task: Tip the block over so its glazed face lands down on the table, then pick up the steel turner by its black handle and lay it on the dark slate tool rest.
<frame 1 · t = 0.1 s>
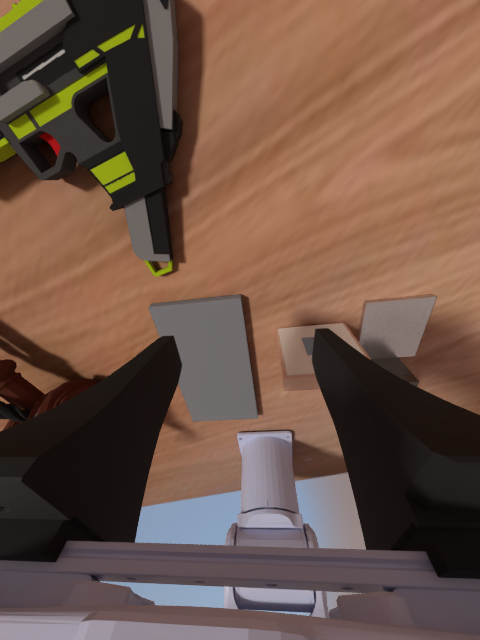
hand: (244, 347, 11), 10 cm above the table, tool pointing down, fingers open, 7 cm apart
block: (308, 331, 22), on the table
toy gun: (105, 188, 17), on the table
turner: (380, 361, 24), on the table
gavel: (11, 340, 25), on the table
tool rest: (213, 367, 26), on the table
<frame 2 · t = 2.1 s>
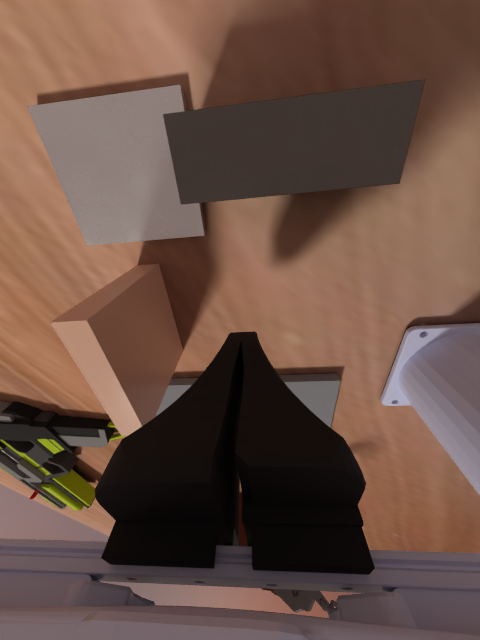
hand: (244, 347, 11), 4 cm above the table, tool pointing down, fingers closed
block: (163, 312, 15), on the table
toy gun: (80, 436, 26), on the table
turner: (215, 169, 11), on the table
gavel: (209, 504, 34), on the table
tool rest: (233, 410, 21), on the table
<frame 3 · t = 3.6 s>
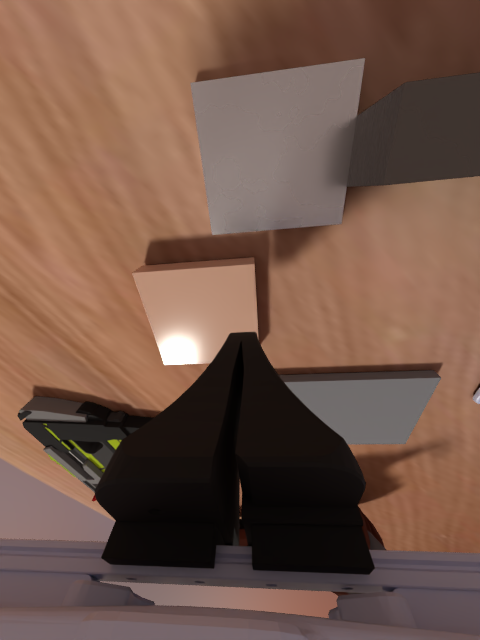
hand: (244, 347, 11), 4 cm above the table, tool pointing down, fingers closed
block: (257, 313, 14), point 1 cm above the table, tilted 90°
toy gun: (141, 437, 25), on the table
turner: (367, 153, 10), on the table
gavel: (256, 506, 33), on the table
tool rest: (312, 408, 20), on the table
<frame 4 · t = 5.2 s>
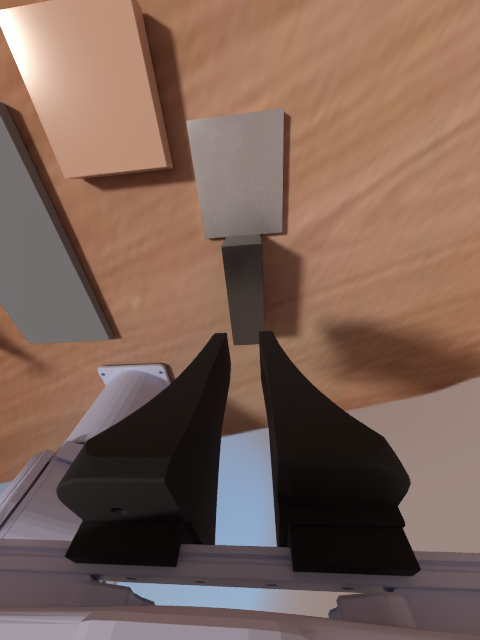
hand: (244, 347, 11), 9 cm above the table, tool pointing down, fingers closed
block: (120, 173, 15), point 1 cm above the table, tilted 90°
turner: (244, 247, 18), on the table
tool rest: (24, 252, 19), on the table
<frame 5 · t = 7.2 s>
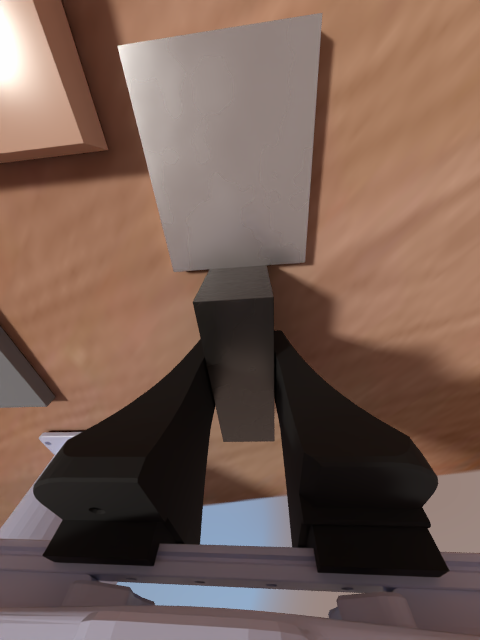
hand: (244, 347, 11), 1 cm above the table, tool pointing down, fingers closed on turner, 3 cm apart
block: (5, 158, 8), point 1 cm above the table, tilted 90°
turner: (240, 283, 11), on the table, touching gripper
when the fingers open (3 cm above the table, at t = 10.4 s): turner stays where it is, resting on tool rest.
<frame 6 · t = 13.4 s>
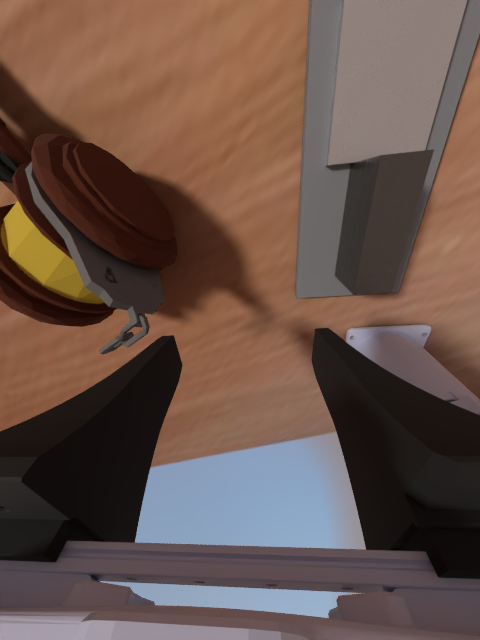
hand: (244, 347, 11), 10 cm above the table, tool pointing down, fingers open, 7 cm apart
turner: (367, 178, 15), point 1 cm above the table, touching tool rest
tool rest: (362, 178, 16), on the table
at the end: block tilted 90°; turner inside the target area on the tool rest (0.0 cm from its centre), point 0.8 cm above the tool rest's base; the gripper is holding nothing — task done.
